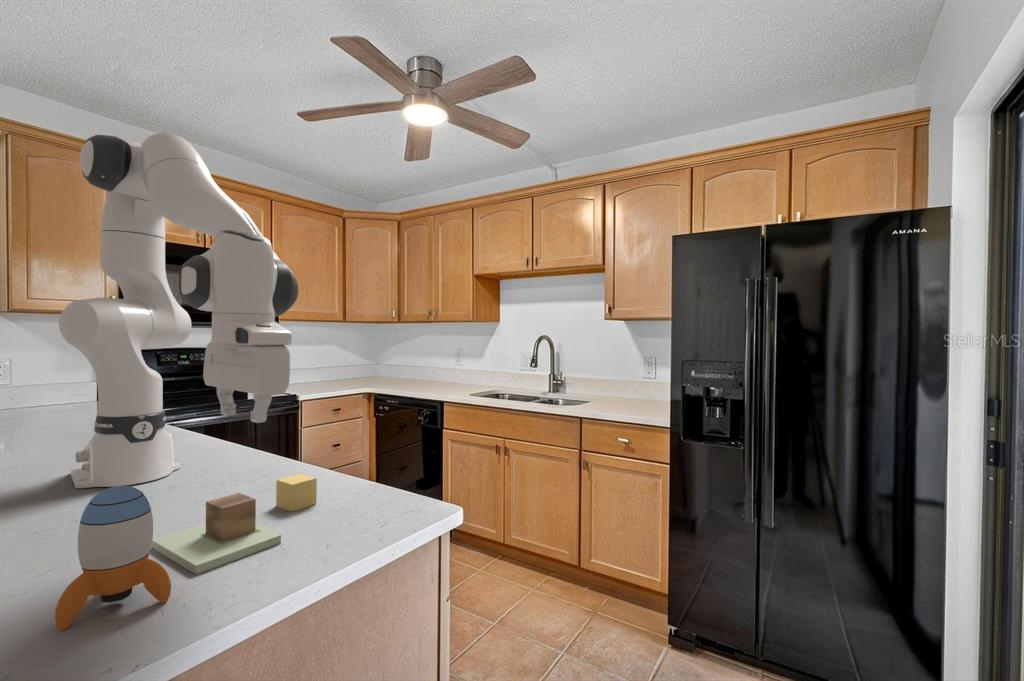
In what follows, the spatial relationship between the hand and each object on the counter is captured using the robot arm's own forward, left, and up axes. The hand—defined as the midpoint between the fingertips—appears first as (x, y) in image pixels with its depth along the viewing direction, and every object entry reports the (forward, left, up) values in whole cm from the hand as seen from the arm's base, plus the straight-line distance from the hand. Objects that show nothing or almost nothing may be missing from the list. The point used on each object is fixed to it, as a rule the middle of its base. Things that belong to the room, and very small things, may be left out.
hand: (242, 418), depth 78 cm
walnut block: (+1, -2, -17) cm, 18 cm away
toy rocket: (+9, -18, -19) cm, 28 cm away
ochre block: (-5, +13, -19) cm, 23 cm away
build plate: (+1, -4, -19) cm, 19 cm away
